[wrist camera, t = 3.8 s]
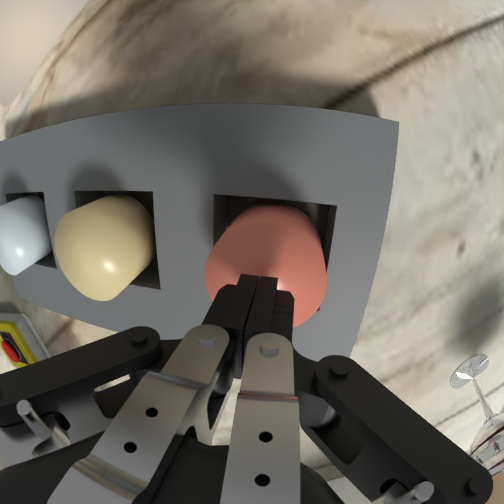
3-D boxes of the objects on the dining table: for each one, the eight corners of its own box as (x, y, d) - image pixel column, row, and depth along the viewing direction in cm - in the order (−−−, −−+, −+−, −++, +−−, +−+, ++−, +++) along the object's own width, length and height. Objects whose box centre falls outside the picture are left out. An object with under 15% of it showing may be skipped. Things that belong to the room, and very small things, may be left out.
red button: (327, 207, 15) (336, 231, 11) (313, 296, 17) (315, 337, 14) (226, 197, 16) (203, 218, 12) (224, 285, 18) (206, 323, 14)
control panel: (382, 123, 14) (399, 122, 12) (341, 342, 21) (345, 369, 18) (11, 140, 18) (-11, 145, 16) (34, 284, 25) (17, 297, 22)
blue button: (49, 193, 17) (12, 208, 14) (60, 259, 20) (29, 280, 16) (15, 194, 18) (-17, 208, 15) (25, 251, 20) (-3, 269, 17)
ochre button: (155, 194, 16) (118, 212, 13) (161, 276, 18) (132, 309, 15) (87, 193, 17) (47, 209, 13) (97, 266, 19) (65, 291, 15)
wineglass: (431, 386, 22) (459, 486, 11) (478, 339, 19) (529, 436, 8) (461, 398, 22) (487, 481, 11) (503, 358, 19) (544, 438, 8)
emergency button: (45, 384, 27) (4, 368, 31) (61, 365, 31) (18, 354, 35) (9, 328, 24) (-23, 323, 27) (29, 311, 28) (-7, 310, 31)
